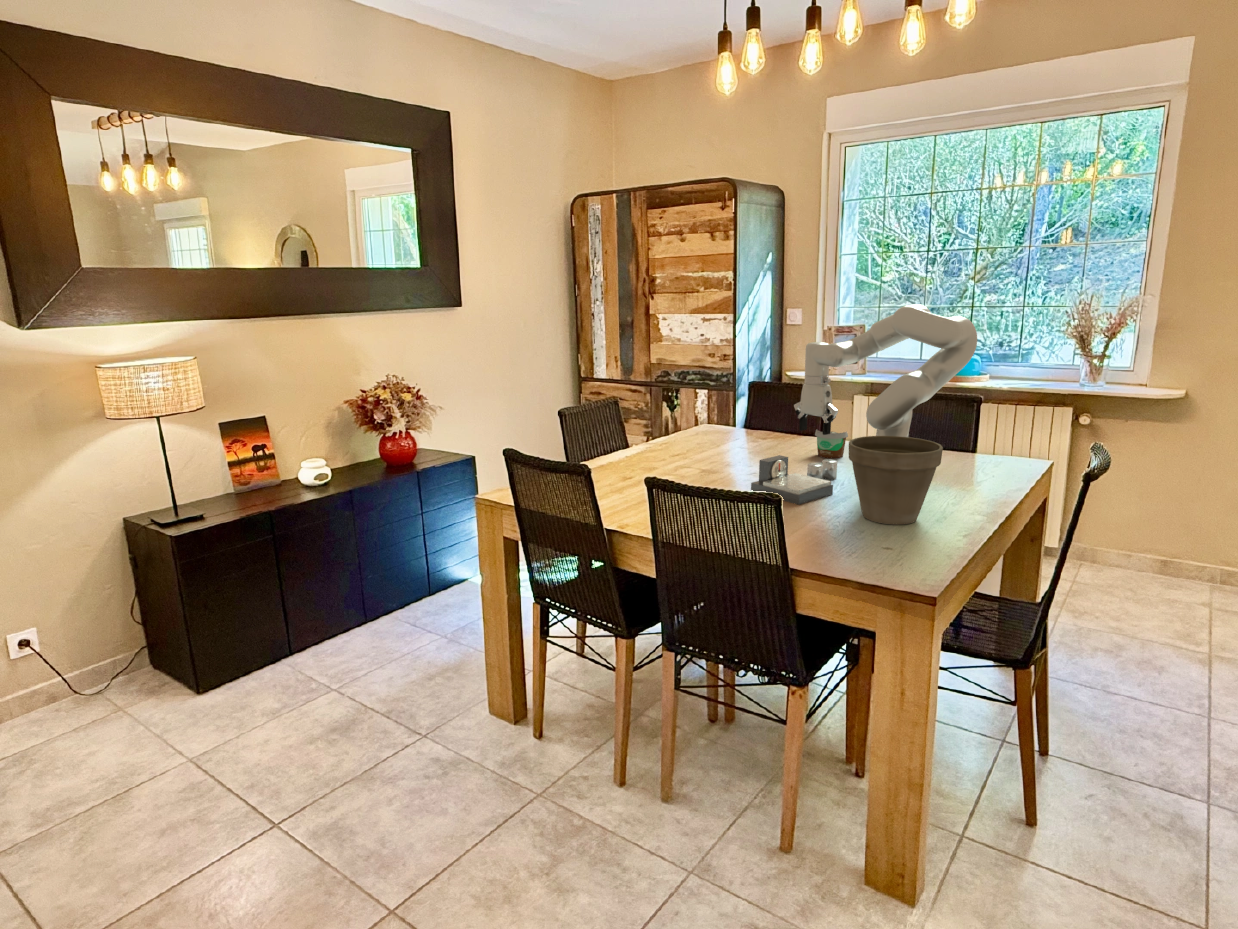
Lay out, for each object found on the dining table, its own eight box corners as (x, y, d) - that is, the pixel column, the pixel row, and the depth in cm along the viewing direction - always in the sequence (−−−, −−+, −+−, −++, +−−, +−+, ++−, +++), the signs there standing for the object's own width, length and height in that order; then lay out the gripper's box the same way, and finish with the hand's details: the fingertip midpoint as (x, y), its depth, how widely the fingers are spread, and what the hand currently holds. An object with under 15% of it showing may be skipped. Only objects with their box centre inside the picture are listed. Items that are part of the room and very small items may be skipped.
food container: (810, 457, 285) (811, 431, 283) (814, 454, 291) (815, 428, 288) (843, 460, 280) (845, 434, 277) (846, 457, 285) (848, 431, 283)
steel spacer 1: (825, 482, 251) (826, 465, 250) (816, 485, 248) (816, 467, 247) (812, 479, 255) (813, 462, 253) (803, 482, 252) (804, 464, 250)
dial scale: (832, 494, 237) (834, 463, 235) (798, 504, 227) (800, 472, 225) (784, 482, 252) (785, 453, 249) (750, 491, 241) (751, 461, 239)
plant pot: (864, 499, 231) (868, 430, 226) (947, 514, 216) (954, 440, 211) (830, 520, 213) (834, 445, 207) (918, 537, 197) (925, 457, 192)
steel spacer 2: (839, 478, 256) (840, 461, 255) (830, 480, 253) (831, 463, 251) (827, 475, 260) (828, 458, 258) (818, 478, 257) (819, 461, 255)
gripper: (845, 381, 240) (843, 434, 244) (803, 377, 253) (801, 427, 257) (830, 384, 236) (828, 437, 240) (788, 379, 249) (786, 430, 253)
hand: (814, 432), depth 249 cm, fingers open, 9 cm apart
